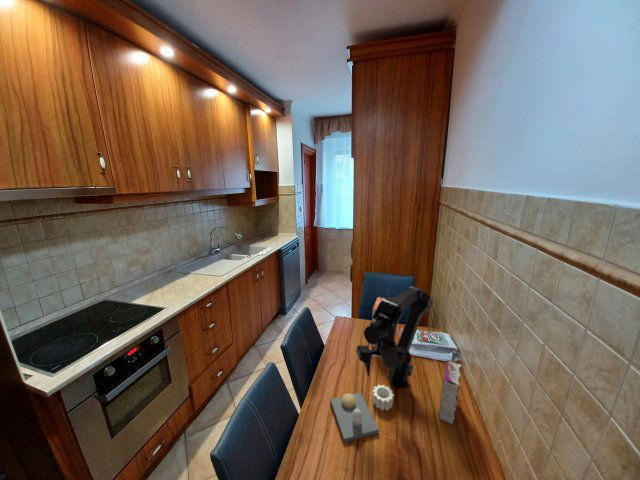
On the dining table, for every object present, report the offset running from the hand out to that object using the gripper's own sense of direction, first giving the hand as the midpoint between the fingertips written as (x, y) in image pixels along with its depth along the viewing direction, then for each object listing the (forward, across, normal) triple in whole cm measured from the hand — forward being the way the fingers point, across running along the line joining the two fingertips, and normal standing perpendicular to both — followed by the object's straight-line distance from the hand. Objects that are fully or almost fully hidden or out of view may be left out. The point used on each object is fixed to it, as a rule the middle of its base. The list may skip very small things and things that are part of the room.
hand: (380, 375), depth 89 cm
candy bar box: (+10, +25, -5) cm, 27 cm away
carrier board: (+14, -9, -3) cm, 17 cm away
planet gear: (+12, +3, +1) cm, 12 cm away
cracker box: (+7, +14, +37) cm, 40 cm away
